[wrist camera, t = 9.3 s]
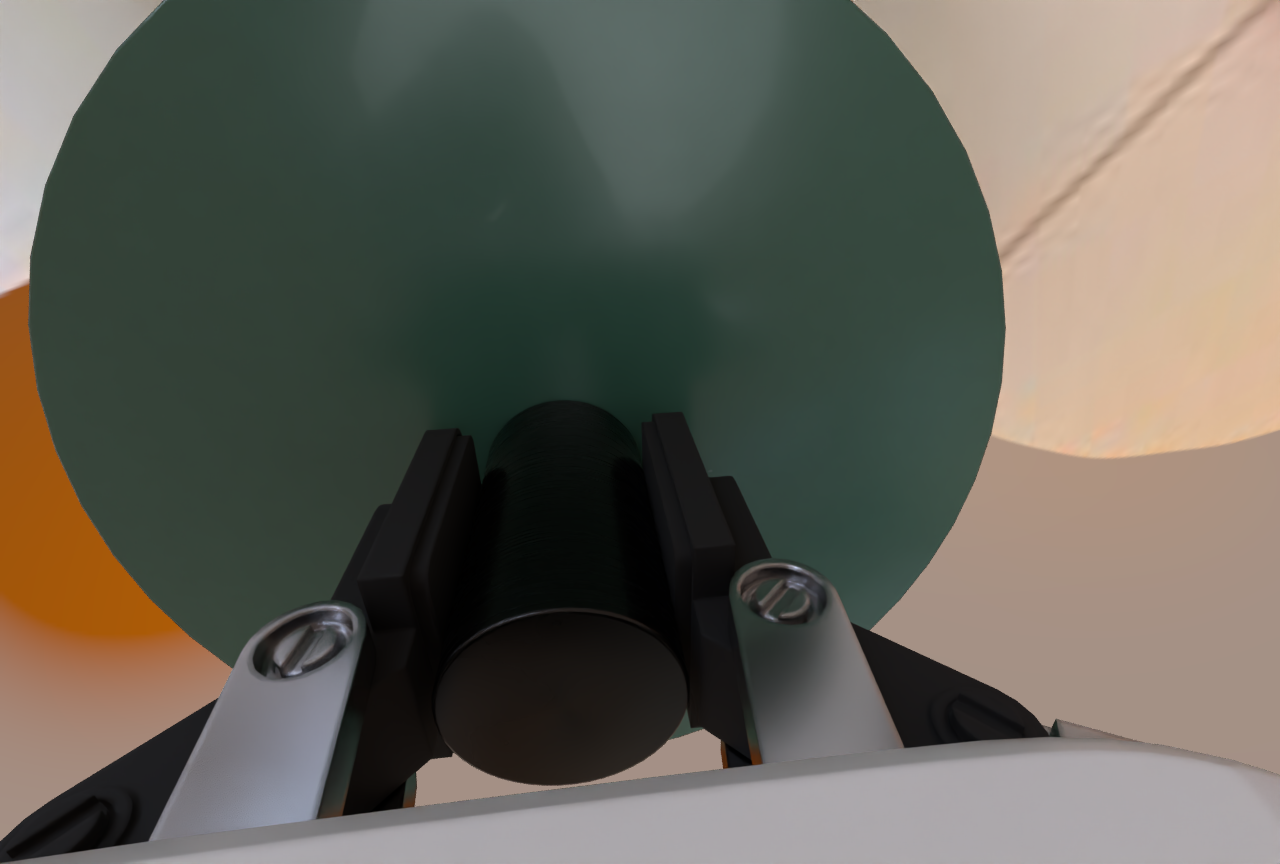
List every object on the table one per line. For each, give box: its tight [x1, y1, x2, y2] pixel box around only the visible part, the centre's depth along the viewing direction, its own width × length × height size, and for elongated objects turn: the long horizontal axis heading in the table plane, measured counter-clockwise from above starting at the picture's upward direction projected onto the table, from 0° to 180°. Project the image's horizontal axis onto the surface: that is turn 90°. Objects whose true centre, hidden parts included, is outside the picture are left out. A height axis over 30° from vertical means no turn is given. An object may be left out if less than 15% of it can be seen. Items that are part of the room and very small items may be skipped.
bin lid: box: [28, 0, 1006, 786], centre depth 10 cm, size 18×18×7 cm
